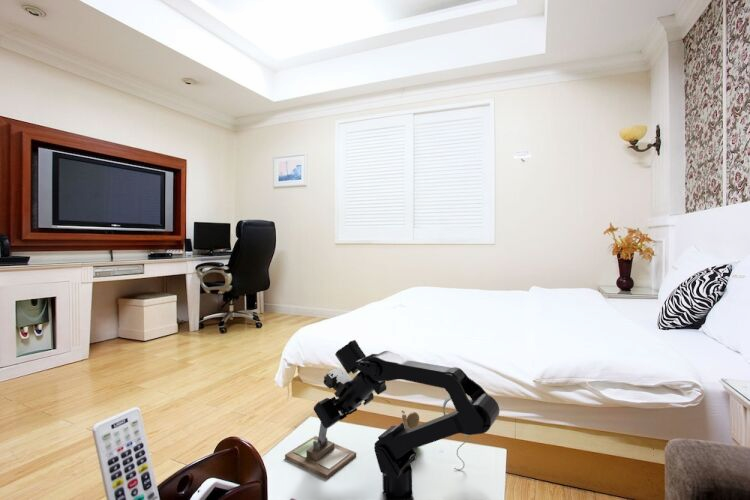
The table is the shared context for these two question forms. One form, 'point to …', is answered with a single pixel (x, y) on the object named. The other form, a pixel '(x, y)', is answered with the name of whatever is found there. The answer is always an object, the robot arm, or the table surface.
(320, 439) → the toggle lever
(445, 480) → the table surface
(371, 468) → the table surface
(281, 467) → the table surface
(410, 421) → the snail figurine
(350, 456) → the switch base
